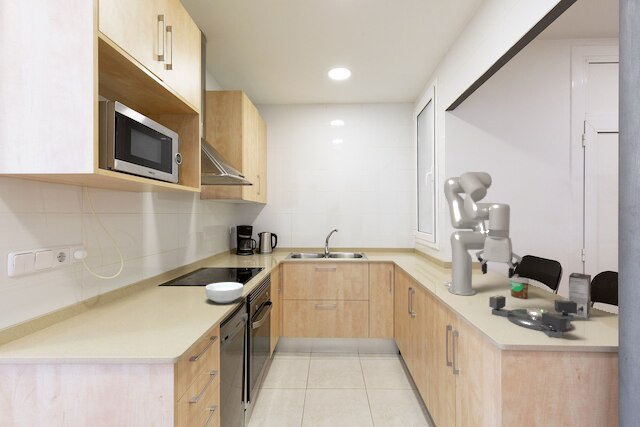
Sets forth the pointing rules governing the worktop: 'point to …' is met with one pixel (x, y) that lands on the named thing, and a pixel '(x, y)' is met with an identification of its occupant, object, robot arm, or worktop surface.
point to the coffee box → (580, 293)
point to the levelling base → (532, 322)
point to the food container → (519, 287)
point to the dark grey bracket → (497, 301)
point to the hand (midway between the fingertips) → (497, 275)
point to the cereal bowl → (224, 291)
